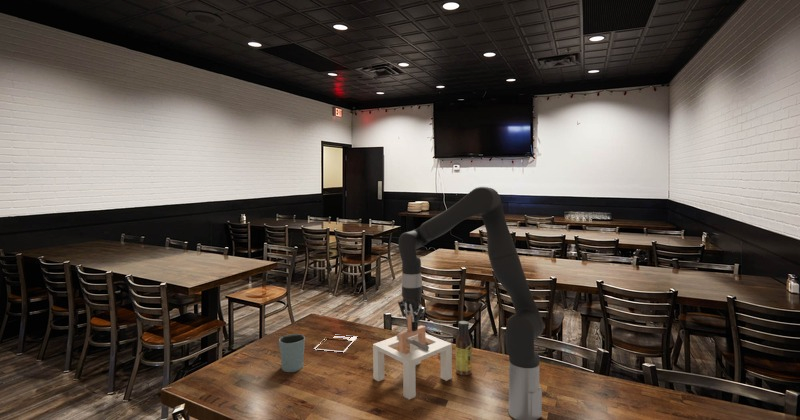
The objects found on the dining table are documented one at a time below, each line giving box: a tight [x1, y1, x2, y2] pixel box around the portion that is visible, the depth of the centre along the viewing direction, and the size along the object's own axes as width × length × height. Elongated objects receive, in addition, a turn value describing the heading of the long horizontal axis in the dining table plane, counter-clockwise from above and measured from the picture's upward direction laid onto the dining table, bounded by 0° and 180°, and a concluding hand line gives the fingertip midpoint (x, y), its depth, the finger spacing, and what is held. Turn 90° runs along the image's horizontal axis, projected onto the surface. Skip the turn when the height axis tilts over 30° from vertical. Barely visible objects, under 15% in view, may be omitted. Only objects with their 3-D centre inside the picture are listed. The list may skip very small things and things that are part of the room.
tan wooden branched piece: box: [394, 314, 427, 366], centre depth 151 cm, size 13×5×17 cm, turn 132°
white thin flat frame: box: [313, 335, 358, 354], centre depth 186 cm, size 15×1×18 cm
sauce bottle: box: [455, 320, 473, 376], centre depth 156 cm, size 6×6×20 cm
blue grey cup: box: [278, 333, 306, 373], centre depth 162 cm, size 10×10×12 cm
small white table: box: [372, 332, 453, 400], centre depth 152 cm, size 22×20×15 cm
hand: (412, 329), depth 151 cm, fingers closed on tan wooden branched piece
